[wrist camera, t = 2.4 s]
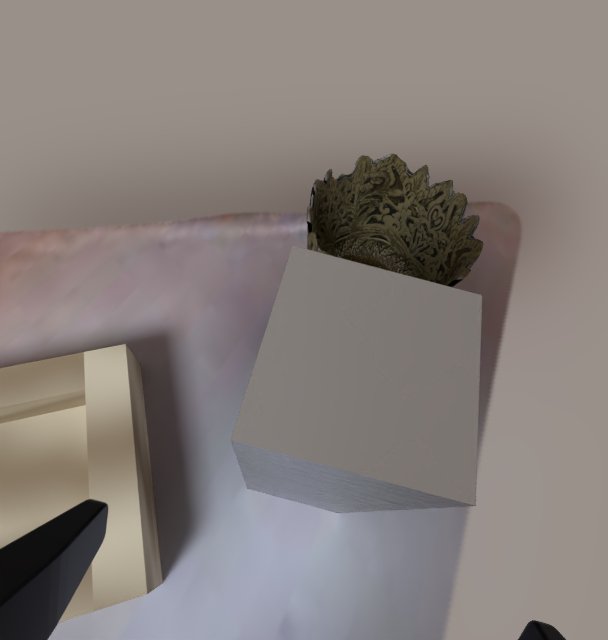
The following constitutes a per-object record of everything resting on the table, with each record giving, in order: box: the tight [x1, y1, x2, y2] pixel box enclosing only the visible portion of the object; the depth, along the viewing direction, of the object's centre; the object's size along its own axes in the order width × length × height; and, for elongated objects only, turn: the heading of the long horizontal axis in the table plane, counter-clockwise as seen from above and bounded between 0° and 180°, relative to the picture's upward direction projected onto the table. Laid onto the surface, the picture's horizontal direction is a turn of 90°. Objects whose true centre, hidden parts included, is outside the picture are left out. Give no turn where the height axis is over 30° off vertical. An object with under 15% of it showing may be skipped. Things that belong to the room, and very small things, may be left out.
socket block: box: [0, 344, 163, 623], centre depth 16 cm, size 10×10×3 cm
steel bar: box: [231, 246, 482, 513], centre depth 14 cm, size 4×4×13 cm
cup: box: [307, 154, 483, 287], centre depth 20 cm, size 8×7×8 cm
